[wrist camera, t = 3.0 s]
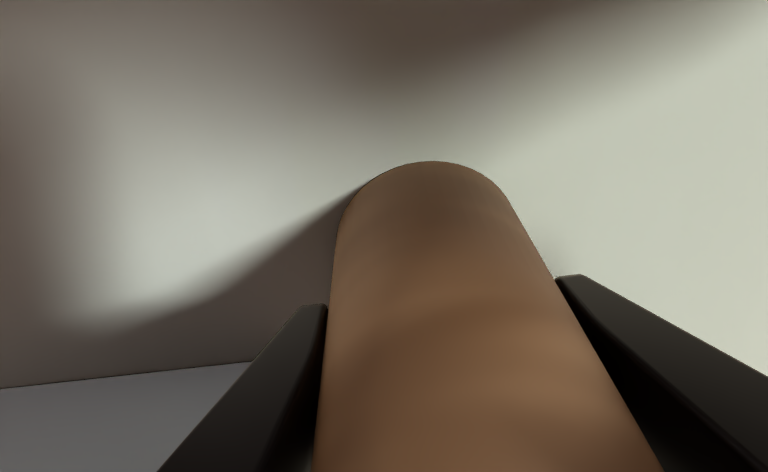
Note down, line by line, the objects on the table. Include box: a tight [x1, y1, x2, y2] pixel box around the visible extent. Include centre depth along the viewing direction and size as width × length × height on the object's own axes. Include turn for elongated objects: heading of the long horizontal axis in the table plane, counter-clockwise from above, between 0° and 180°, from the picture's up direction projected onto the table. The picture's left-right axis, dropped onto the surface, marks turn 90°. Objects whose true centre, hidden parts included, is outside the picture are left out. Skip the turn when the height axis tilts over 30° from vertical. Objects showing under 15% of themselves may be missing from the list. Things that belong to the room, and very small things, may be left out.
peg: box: [311, 161, 665, 472], centre depth 6 cm, size 4×4×8 cm
